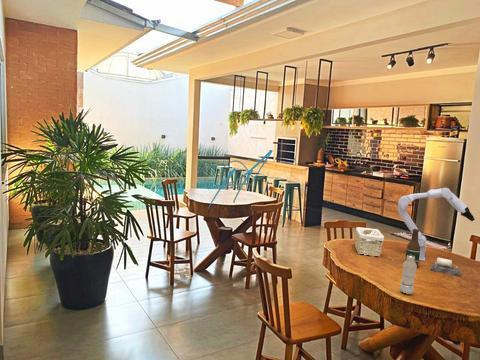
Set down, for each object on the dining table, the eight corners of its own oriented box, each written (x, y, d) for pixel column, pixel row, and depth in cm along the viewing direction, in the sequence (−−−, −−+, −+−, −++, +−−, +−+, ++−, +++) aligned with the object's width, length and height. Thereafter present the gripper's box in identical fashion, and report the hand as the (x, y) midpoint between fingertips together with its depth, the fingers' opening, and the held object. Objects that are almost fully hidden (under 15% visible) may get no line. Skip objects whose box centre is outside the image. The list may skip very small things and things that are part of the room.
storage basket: (353, 245, 269) (355, 226, 267) (376, 248, 266) (378, 228, 264) (357, 255, 246) (359, 234, 244) (382, 258, 243) (385, 237, 241)
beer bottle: (417, 265, 233) (422, 229, 230) (418, 269, 226) (423, 231, 223) (404, 263, 236) (409, 227, 233) (404, 266, 229) (409, 229, 226)
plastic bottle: (396, 290, 190) (401, 253, 188) (409, 290, 191) (413, 253, 189) (403, 295, 184) (408, 257, 182) (415, 296, 185) (420, 258, 182)
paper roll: (435, 266, 235) (436, 258, 234) (436, 263, 239) (437, 256, 239) (451, 269, 231) (452, 261, 230) (451, 266, 235) (452, 259, 235)
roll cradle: (430, 270, 225) (431, 264, 225) (431, 265, 234) (431, 259, 234) (460, 276, 218) (461, 270, 217) (460, 271, 227) (460, 265, 226)
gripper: (462, 200, 227) (479, 217, 223) (461, 197, 240) (477, 213, 236) (452, 207, 230) (469, 224, 226) (452, 204, 243) (468, 220, 239)
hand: (472, 219), depth 231 cm, fingers open, 7 cm apart
